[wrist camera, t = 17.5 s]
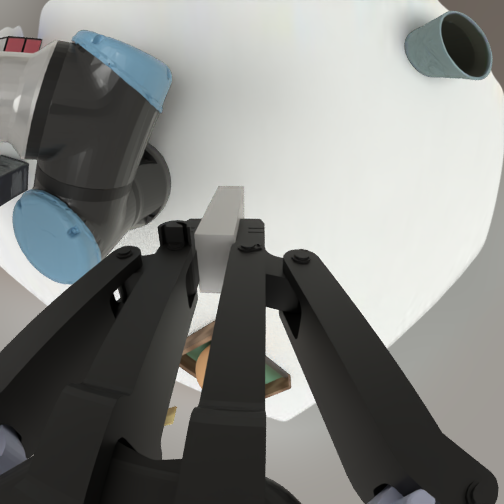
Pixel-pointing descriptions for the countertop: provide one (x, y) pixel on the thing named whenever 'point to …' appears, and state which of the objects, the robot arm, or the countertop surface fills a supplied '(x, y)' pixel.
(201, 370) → the ball
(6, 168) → the small box
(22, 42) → the puzzle cube
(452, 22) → the drinking glass
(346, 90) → the countertop surface
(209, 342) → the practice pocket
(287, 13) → the countertop surface
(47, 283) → the countertop surface
